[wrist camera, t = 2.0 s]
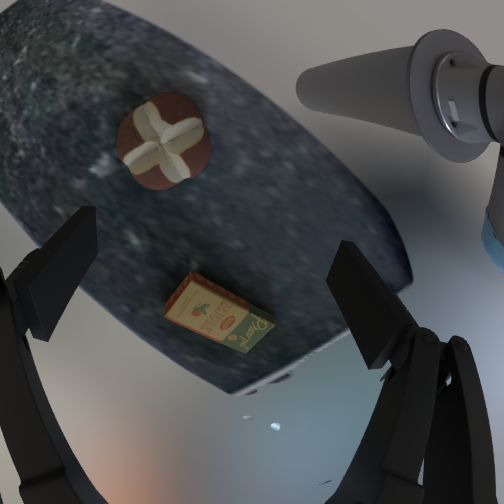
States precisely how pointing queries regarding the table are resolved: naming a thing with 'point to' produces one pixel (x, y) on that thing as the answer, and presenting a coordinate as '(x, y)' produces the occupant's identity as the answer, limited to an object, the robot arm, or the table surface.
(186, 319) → the carton
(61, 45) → the table surface
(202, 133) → the bread
